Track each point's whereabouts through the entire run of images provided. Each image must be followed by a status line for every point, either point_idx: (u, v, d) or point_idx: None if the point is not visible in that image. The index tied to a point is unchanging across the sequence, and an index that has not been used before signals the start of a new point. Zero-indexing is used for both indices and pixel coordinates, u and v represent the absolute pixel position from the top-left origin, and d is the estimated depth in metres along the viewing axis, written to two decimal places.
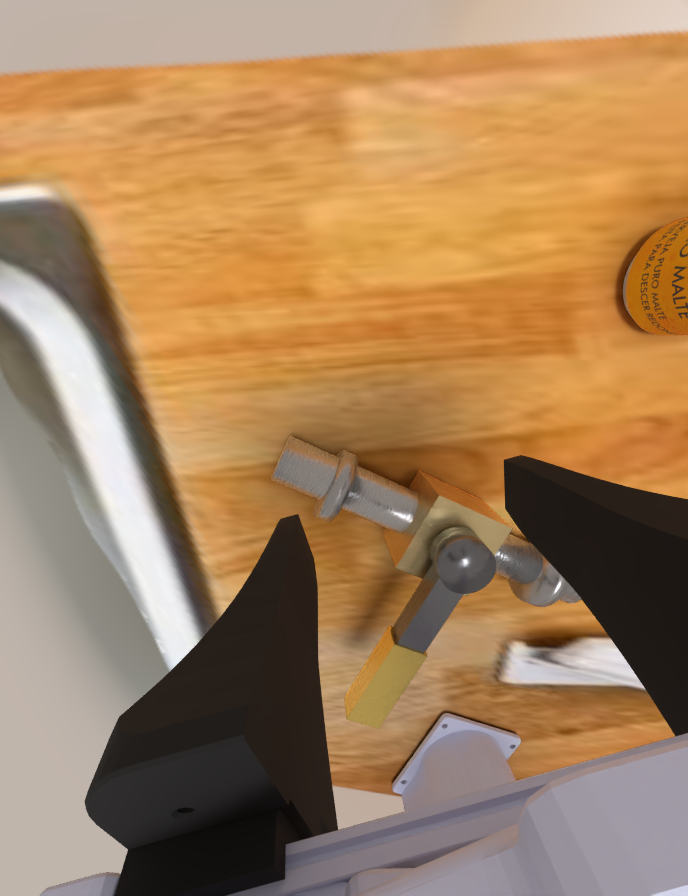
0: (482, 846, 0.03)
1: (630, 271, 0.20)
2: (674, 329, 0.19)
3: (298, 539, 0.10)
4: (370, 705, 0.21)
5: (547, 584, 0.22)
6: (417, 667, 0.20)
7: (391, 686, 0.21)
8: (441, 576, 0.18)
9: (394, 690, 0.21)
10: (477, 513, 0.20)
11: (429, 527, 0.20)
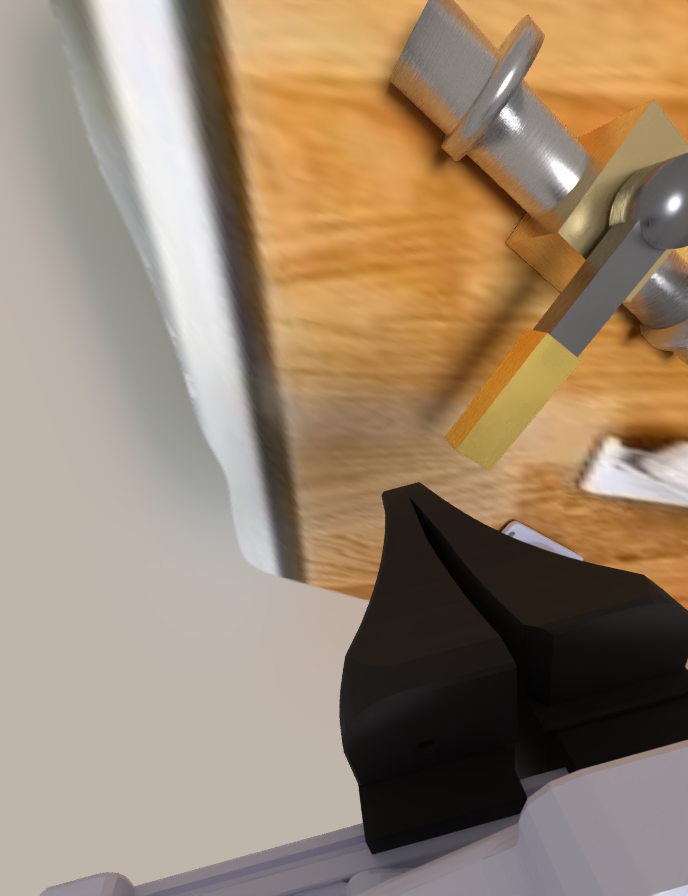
0: (482, 846, 0.03)
1: None
2: None
3: None
4: (490, 432, 0.16)
5: None
6: (563, 378, 0.15)
7: (523, 403, 0.16)
8: (651, 205, 0.13)
9: (525, 412, 0.16)
10: None
11: (622, 162, 0.14)
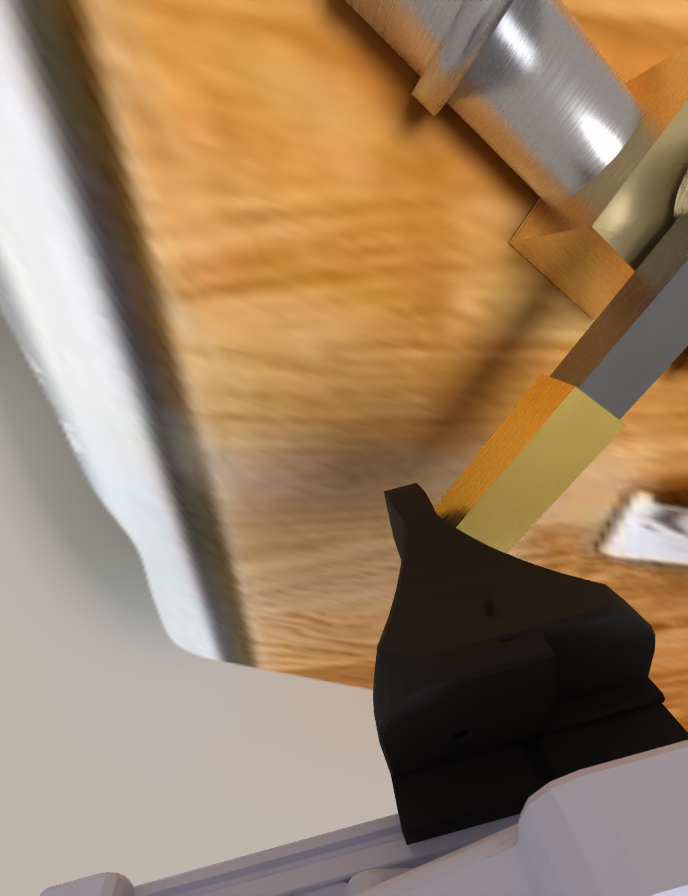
0: (482, 846, 0.03)
1: None
2: None
3: None
4: (486, 525, 0.11)
5: None
6: (598, 450, 0.10)
7: (536, 487, 0.10)
8: None
9: (539, 497, 0.11)
10: None
11: None
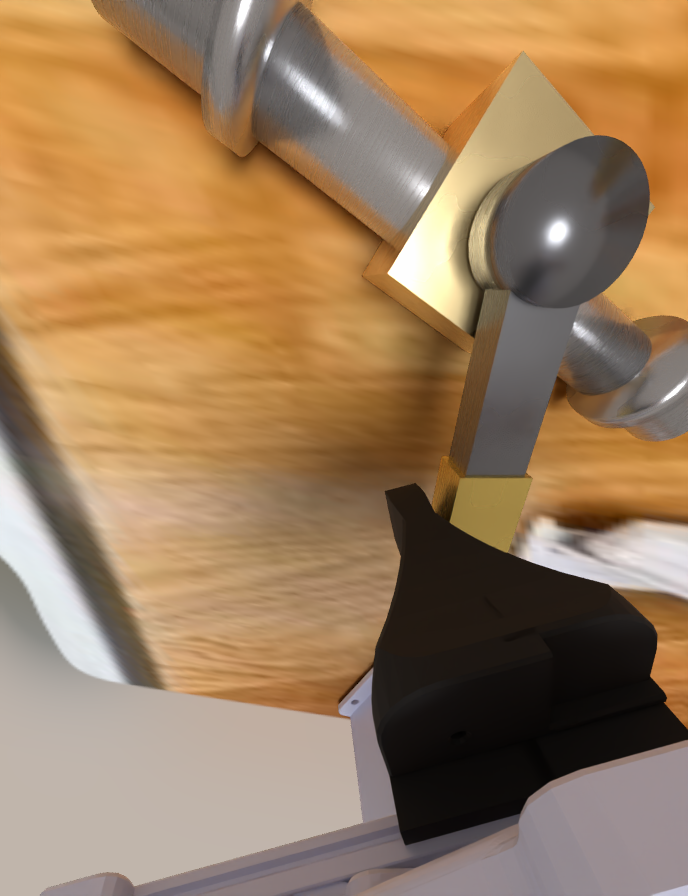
0: (482, 846, 0.03)
1: None
2: None
3: None
4: None
5: (664, 375, 0.12)
6: (519, 505, 0.10)
7: None
8: (515, 275, 0.07)
9: None
10: None
11: (479, 160, 0.08)
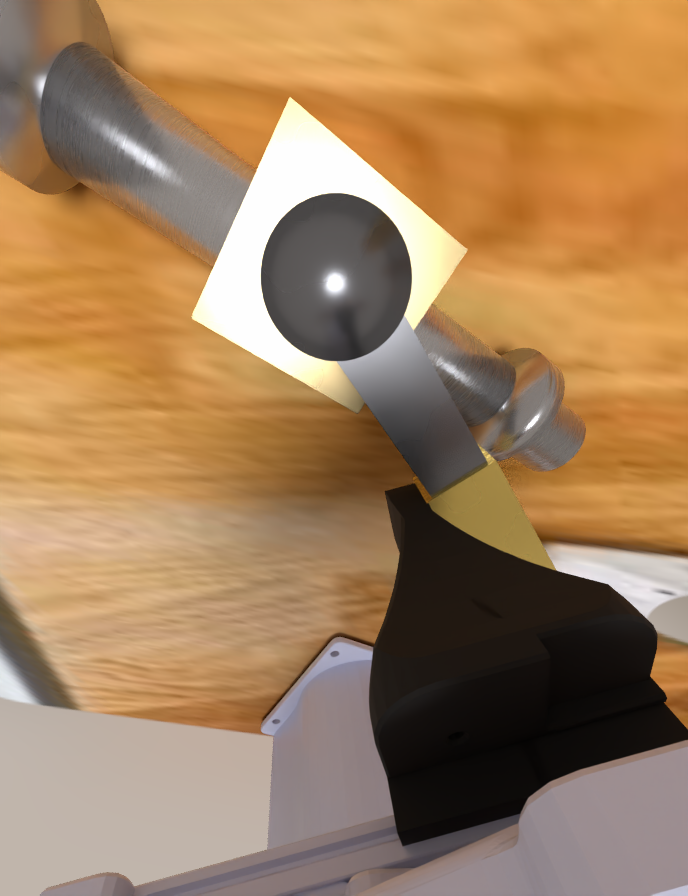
0: (482, 846, 0.03)
1: None
2: None
3: None
4: None
5: (518, 413, 0.11)
6: (505, 486, 0.10)
7: (503, 538, 0.11)
8: (319, 357, 0.08)
9: (517, 537, 0.11)
10: (388, 184, 0.08)
11: (266, 206, 0.08)
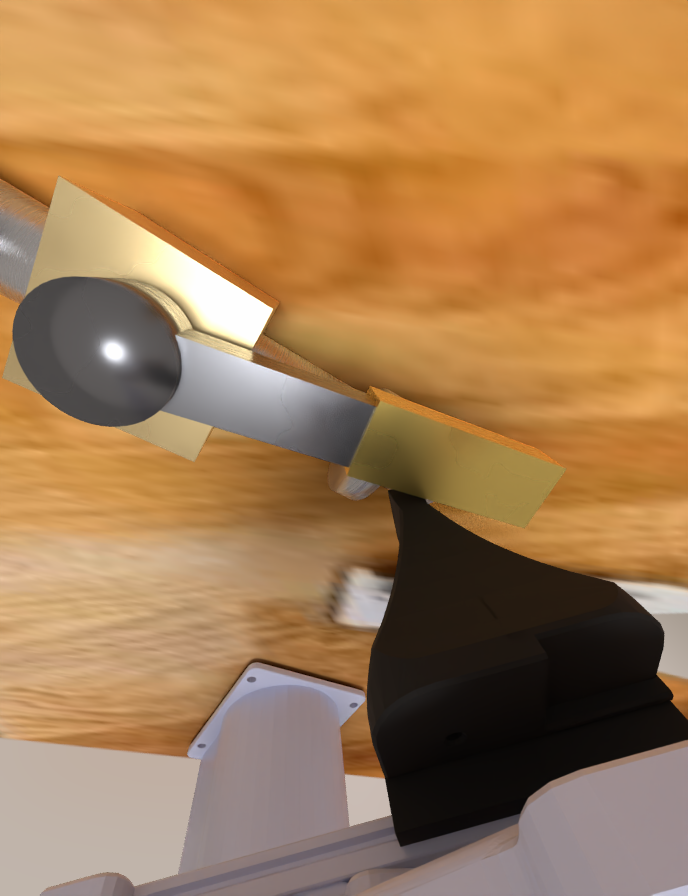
0: (482, 846, 0.03)
1: None
2: None
3: None
4: (500, 493, 0.10)
5: None
6: (411, 417, 0.09)
7: (456, 463, 0.10)
8: (137, 421, 0.08)
9: (469, 454, 0.10)
10: (177, 252, 0.08)
11: (57, 274, 0.08)
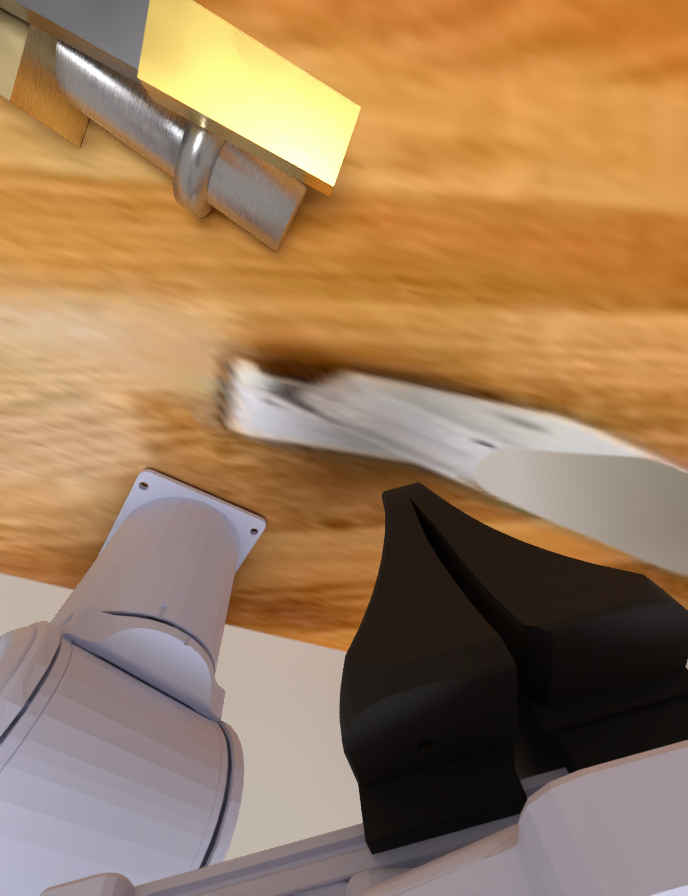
0: (482, 846, 0.03)
1: None
2: None
3: None
4: (299, 131, 0.11)
5: None
6: (189, 5, 0.09)
7: (246, 79, 0.10)
8: None
9: (258, 69, 0.10)
10: None
11: None
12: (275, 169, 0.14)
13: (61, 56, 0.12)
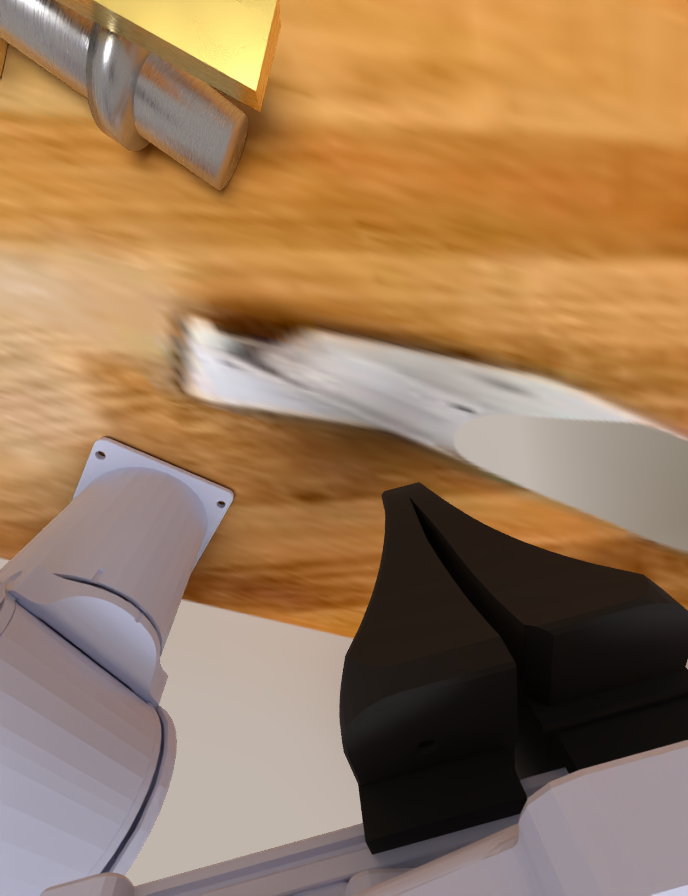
0: (482, 846, 0.03)
1: None
2: None
3: None
4: (210, 22, 0.10)
5: None
6: None
7: None
8: None
9: None
10: None
11: None
12: (206, 90, 0.13)
13: None
